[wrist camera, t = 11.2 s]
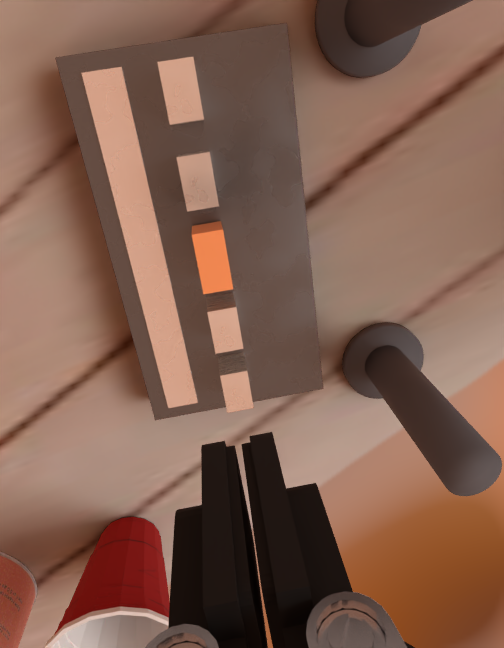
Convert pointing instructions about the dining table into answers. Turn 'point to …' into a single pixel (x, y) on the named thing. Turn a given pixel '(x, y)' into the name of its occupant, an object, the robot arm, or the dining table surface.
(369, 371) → the post
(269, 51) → the breaker panel
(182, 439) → the dining table surface
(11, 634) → the canned food
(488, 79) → the dining table surface
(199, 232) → the block
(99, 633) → the plastic cup
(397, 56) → the knob
